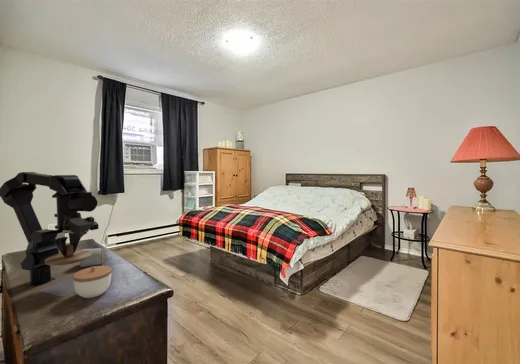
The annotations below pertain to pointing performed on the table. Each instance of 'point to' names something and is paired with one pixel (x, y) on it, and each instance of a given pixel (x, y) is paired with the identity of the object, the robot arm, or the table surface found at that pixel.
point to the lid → (68, 257)
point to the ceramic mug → (93, 258)
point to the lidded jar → (92, 281)
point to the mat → (60, 288)
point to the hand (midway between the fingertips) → (68, 254)
